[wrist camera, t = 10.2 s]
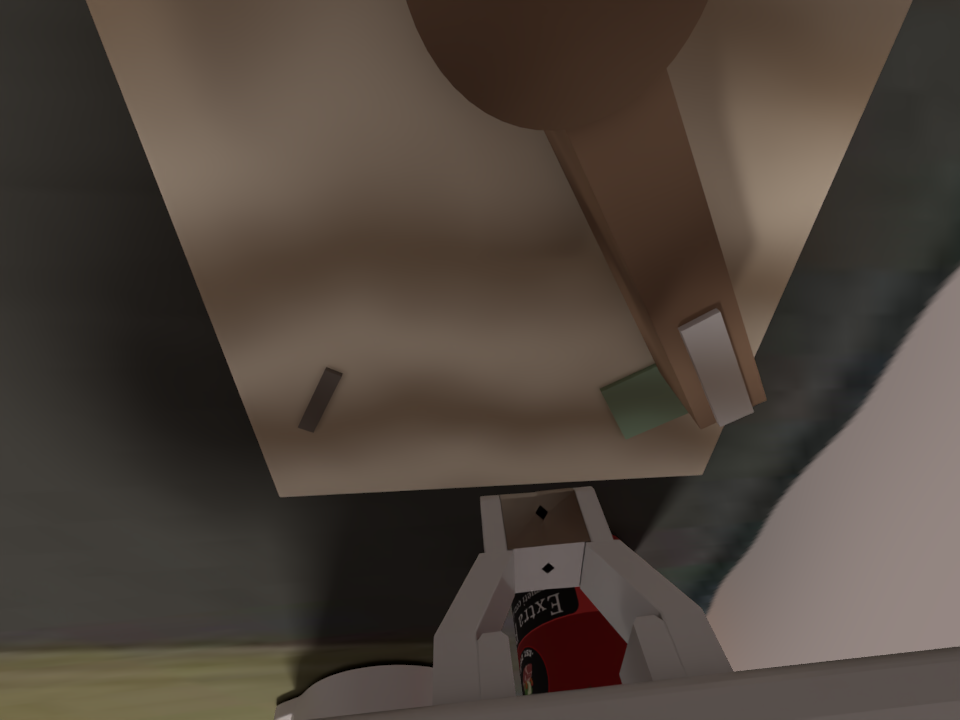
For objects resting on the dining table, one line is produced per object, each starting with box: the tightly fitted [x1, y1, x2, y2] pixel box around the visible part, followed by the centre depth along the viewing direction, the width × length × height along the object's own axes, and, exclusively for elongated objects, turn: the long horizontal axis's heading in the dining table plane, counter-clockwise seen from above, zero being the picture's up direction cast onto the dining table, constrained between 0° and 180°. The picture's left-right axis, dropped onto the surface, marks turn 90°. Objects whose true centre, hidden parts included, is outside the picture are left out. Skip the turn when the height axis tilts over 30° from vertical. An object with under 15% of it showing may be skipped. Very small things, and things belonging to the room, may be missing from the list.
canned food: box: [511, 535, 628, 695], centre depth 22 cm, size 8×8×11 cm
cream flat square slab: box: [86, 0, 913, 497], centre depth 14 cm, size 20×19×2 cm
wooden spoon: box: [406, 0, 767, 429], centre depth 10 cm, size 14×5×4 cm, turn 32°
